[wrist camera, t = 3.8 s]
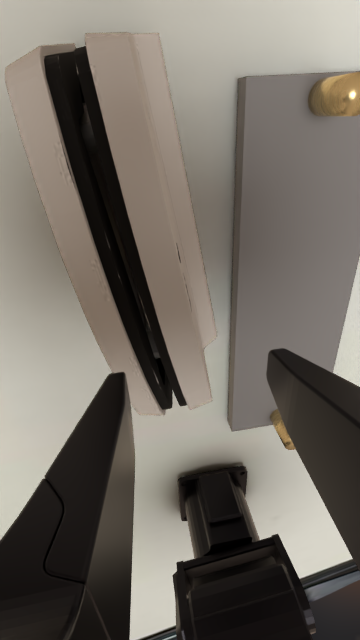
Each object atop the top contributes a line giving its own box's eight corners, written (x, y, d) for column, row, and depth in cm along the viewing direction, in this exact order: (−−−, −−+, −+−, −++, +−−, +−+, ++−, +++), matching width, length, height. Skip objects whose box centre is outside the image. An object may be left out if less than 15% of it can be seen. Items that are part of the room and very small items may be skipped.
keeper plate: (315, 406, 30) (341, 442, 27) (227, 420, 29) (242, 460, 26) (385, 71, 18) (449, 61, 15) (238, 78, 17) (269, 69, 14)
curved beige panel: (214, 327, 24) (245, 444, 16) (149, 340, 25) (146, 463, 16) (156, 27, 16) (156, -65, 7) (56, 54, 16) (-57, -4, 7)
